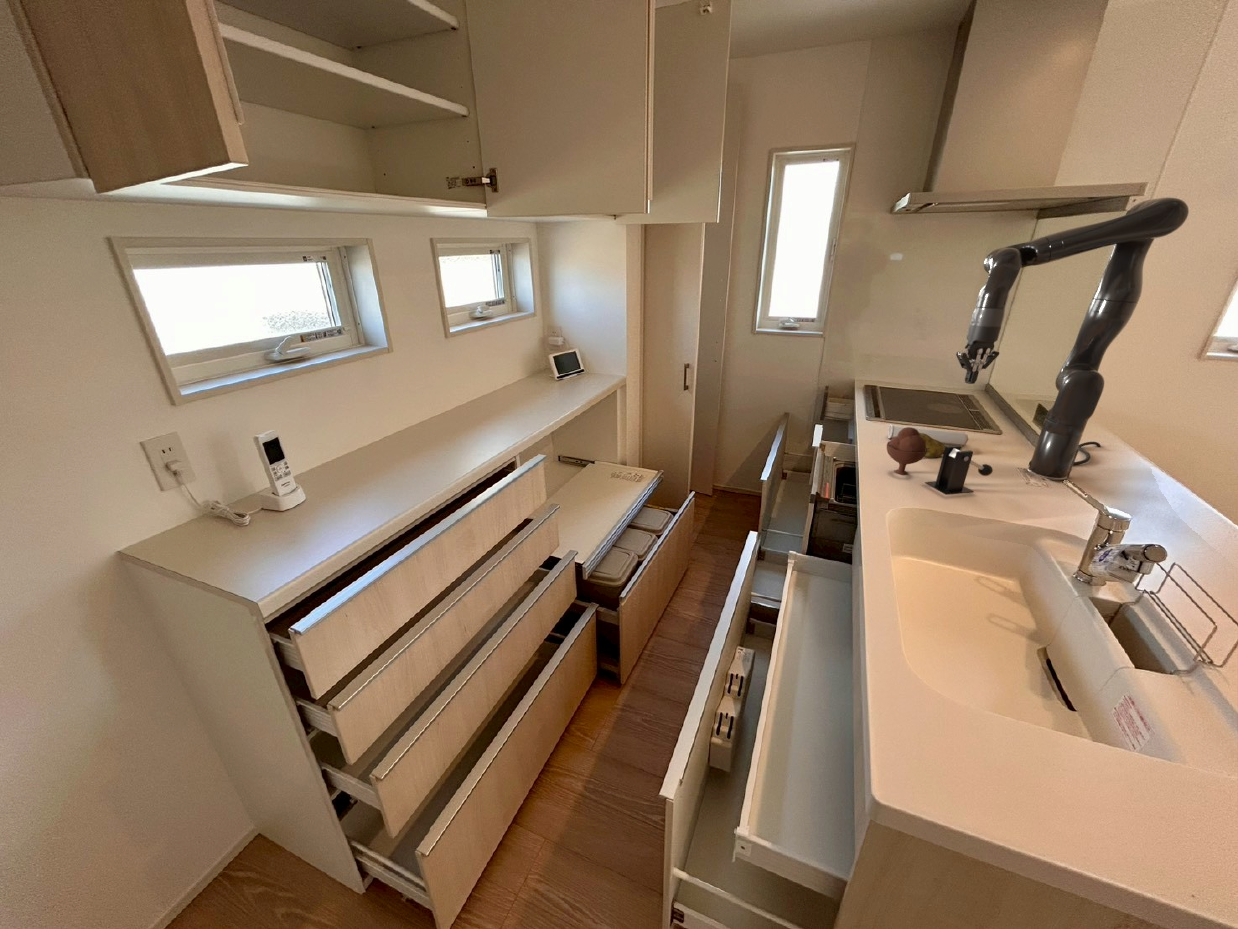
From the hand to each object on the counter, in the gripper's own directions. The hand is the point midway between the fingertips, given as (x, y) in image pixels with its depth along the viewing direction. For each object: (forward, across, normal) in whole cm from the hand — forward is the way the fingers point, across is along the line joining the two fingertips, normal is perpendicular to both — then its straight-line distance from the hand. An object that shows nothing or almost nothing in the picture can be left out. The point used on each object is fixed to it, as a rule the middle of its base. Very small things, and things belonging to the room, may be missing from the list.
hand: (969, 383), depth 149 cm
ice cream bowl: (+27, -20, -4) cm, 34 cm away
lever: (+20, -9, -16) cm, 27 cm away
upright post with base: (+27, -14, -16) cm, 34 cm away
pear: (+27, -1, +9) cm, 29 cm away
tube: (+27, +10, +21) cm, 36 cm away
